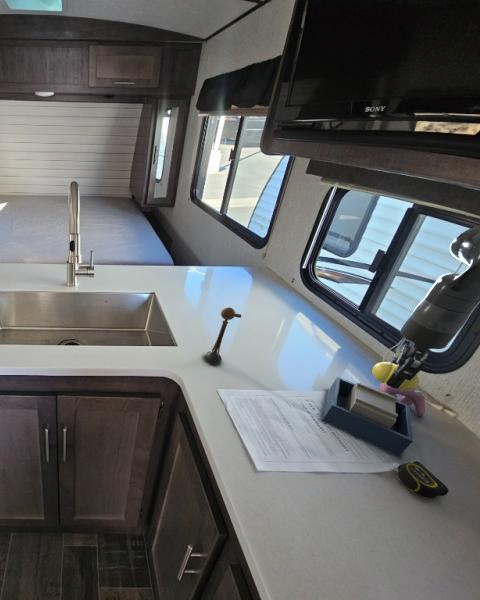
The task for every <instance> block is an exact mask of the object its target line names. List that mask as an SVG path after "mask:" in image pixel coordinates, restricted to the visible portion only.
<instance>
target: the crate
mask: <svg viewBox="0 0 480 600" xmlns="http://www.w3.org/2000/svg"><path fill="white" fill-rule="evenodd" d="M355 384H356V383H354V382H352V381H349V380H347V379H345V378H342V377H340V376H337V377H336V378H335V379H334V381H333V383H332V384H331V386H330V388H329V389H328V391H327V396H326V401H325V405H324V410H323V415H322V421H323V422H325V423H328V424H330V425H331V426H334V427H336V428H338V429H339V430H342V431H345V432H347V433H348V434H351V435H353V436H355V437H357V438H359V439H361V440H363V441H364V442H365V441H366V442H368V443H369V444H371V445H374V446H376V447H377V448H381V449H382V450H384V451H387V452H388V453H390V454H392V455H395V456H397V457H400V456H401V455H402V454H403V453H404V452H405V451H406V450H407V449H408V447H410V445H411V444H412V443H413V442H414V438H413V437H414V436H413V428H412V427H413V426H412V416H411V405H410V406H409V405H406V404H404V403H401V402H399V400H397V401H395V407H396V413H397V414H398V417H397V418H396V422H395V423H394V425H393V426H392V427H391V428H390V429H389V428H387V427H384V426H382V425H380V424H378V423H375V422H373V421H371V420H369V419H366V418H364V417H362V416H360V415H357V414H355V413H353V412H351V411H348V410H346V409H344V401H345V399H346V397H347V396H348V394H349V393H350V391H351V390H352V388H353V387H354V385H355Z"/></svg>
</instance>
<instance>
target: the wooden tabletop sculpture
mask: <svg viewBox="0 0 480 600" xmlns="http://www.w3.org/2000/svg"><path fill="white" fill-rule="evenodd" d="M220 316H221V318H222V319H224V320H222V323H221V327H220V330H219V333H218V336H217V339H216V340H215V343H214V345H213V347H212V348H211V350H210V351H207V353H206V355H205V356H204V360H205V362H206V363H208V364H209V365H211V366H219V365H220V364H221V362H222V356H221V354H220V349H221V345H222V341H223V338H224V335H225V332H226V329H227V327H228V324H229V321H231V320H233V319H234V318H239V319H241V318H242V314H241V313H236V310H235V309H234V308H232V307H229V306H228V307H224V308H223V309H222V310H221V311H220Z"/></svg>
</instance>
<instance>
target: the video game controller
mask: <svg viewBox="0 0 480 600" xmlns="http://www.w3.org/2000/svg"><path fill="white" fill-rule="evenodd" d="M378 390H380V391H382V392H384V393H387V394H389V395H392V396H394V397H397V398H398V395H399V396H402V397H400V398H399V400H398V399H397V400H396V401H399V402H401V403H404V404H406V405H409V406H410V407H411V405H413V406H414V409H415V412H416V414H417V416H418V417H423V416H424V414H425V413H426V398H425V395H424V394H423V392H421V391H420V390H419V389H416V388H414V389H411V390H401V389H395V388H392V387H390V386H387V385H386V384H385V383H382V382H381V383H380V384H379V389H378Z"/></svg>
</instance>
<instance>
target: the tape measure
mask: <svg viewBox="0 0 480 600" xmlns="http://www.w3.org/2000/svg"><path fill="white" fill-rule="evenodd" d="M396 475H397V479H398V480H399V481H400V482H401V483H402V485H403V486H405V487H406V489H408V490H409V491H411V492H412V493H413V494H415V495H417V496H419V497H421V498H424V499H435V498H438V497H445V496H446V495H447V494H449V488H448V487H447V485H445V484H444V482H443V481H441V480H440V479H439V478H438V477H437V476H435V475H434V474H433V473H432V472H431V471H430V470H429V469H428V468H427V467H426V466H424V464H422V463H421V462H420V461H418V460H415V461H413V462H406V463H402V464H399V465H398V466H397V473H396Z"/></svg>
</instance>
